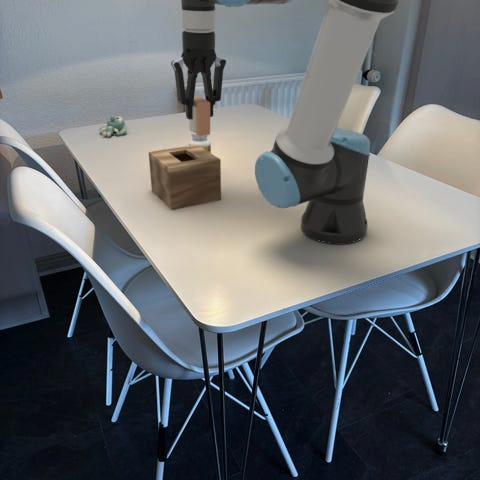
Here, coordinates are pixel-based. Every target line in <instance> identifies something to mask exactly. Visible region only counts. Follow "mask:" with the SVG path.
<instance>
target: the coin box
mask: <svg viewBox="0 0 480 480" xmlns="http://www.w3.org/2000/svg"><path fill="white" fill-rule="evenodd" d="M148 161H149V173H150V175H149V176H150V186H151V192H152V194H154V195H156V196H157V198H159V199H160V201H161V202H163V203H164V204H165V205H166V206H167V207H168V209H170V210H171V211H172V210H177V209H182V208H187V207H191V206H195V205H202V204H205V203H206V204H207V203H211V202H215V201H219V200H222V178H221V177H222V176H221V175H222V172H221V171H222V170H221V169H222V168H221V164H222V163H221V158H219V157H218V156H216V155H215V154H213V153H212V152H211V153H210V152H208V151H207V150H205V149H203V148H202V147H200V146H199V145H191V146H189V145H187V146H179V147H173V148H172V147H171V148H166V149H160V150H154V151H148Z"/></svg>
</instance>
